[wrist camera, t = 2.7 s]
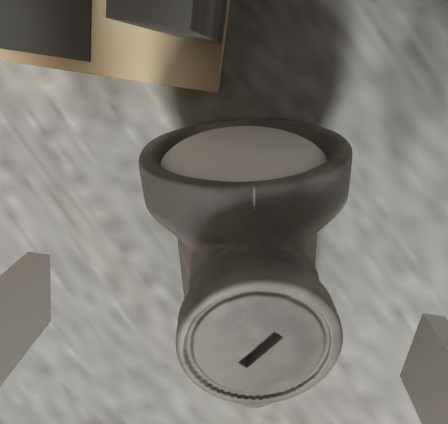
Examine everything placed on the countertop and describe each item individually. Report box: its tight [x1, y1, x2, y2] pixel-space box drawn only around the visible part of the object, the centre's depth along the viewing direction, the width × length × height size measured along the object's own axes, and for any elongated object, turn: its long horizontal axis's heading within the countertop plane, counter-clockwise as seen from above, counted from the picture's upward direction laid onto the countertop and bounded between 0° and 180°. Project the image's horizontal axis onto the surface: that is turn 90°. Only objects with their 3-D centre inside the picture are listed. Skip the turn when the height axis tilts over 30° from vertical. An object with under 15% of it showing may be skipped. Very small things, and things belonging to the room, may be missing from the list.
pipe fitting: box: [139, 119, 352, 408], centre depth 17 cm, size 12×8×10 cm
